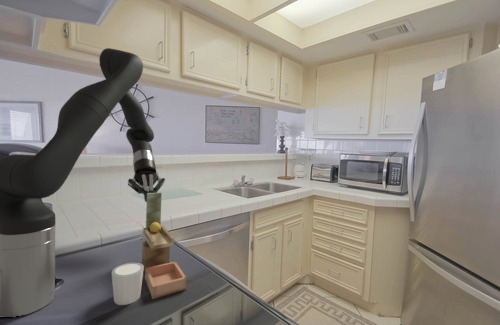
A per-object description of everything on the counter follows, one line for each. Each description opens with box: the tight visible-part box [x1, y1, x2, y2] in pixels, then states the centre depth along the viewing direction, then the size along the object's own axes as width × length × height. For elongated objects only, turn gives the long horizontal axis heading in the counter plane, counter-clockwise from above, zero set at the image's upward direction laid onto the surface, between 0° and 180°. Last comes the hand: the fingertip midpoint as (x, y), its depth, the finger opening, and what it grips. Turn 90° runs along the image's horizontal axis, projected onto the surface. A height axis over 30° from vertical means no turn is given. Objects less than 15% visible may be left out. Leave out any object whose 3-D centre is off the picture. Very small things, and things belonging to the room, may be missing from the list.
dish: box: [144, 261, 188, 300], centre depth 61 cm, size 8×10×3 cm
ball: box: [150, 222, 161, 233], centre depth 73 cm, size 3×3×3 cm
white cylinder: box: [111, 262, 144, 306], centre depth 55 cm, size 7×7×7 cm
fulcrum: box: [141, 240, 171, 272], centre depth 71 cm, size 7×4×8 cm, turn 124°
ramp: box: [141, 192, 175, 250], centre depth 70 cm, size 6×14×13 cm, turn 34°
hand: (149, 201), depth 80 cm, fingers closed
